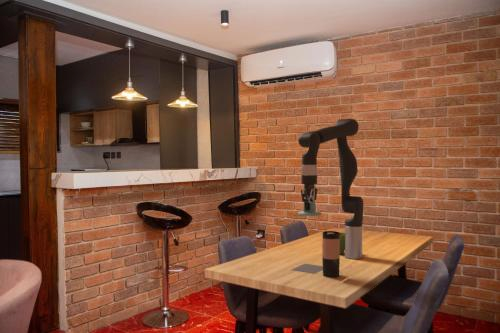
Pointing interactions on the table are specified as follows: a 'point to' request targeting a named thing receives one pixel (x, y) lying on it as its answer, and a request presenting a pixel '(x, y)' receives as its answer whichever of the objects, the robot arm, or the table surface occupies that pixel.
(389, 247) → the table surface
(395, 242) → the table surface
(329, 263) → the travel mug
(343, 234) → the plant pot
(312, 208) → the lid
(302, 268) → the mat
